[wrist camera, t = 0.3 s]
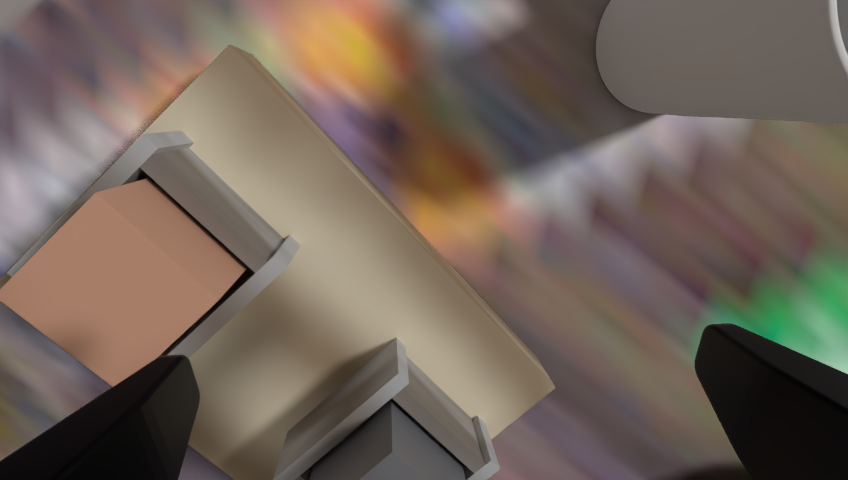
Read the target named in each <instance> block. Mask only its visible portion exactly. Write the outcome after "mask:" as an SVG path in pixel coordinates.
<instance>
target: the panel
mask: <svg viewBox="0 0 848 480" xmlns="http://www.w3.org/2000/svg"><path fill="white" fill-rule="evenodd" d="M147 178H148V179H150V180H151V181H152V182H153V183H154V184H155V185H156V186H157V187H158V188H159V189H161V190H162V191H163V192H164V193H165V194H166V195H167V196H168V197H169V198H170V199H171V200H173V201H174V202H175V203H176V204H177V205H178V206H179V207H180V208H181V209H182V210H184V211H185V212H186V213H187V214H188V215H189V216H190V217H191V218H192V219H193V220H194V221H196V222H197V223H198V224H199V225H200V226H201V227H202V228H203V229H204V230H205V231H207V232H208V233H209V234H210V235H211V236H212V237H213V238H214V239H215V240H216V241H218V242H219V243H220V244H221V245H222V246H223V247H224V248H225V249H226V250H227V251H228V252H230V253H231V254H232V255H233V256H234V257H235V258H236V259H237V260H238V261H239V262H241V263H242V264H243V265H244V266H245V267H246V268H247V269H246V270H245V271H244V272H243V273H242V275H241V276H240V277H239V278H238V279H237V280H236V281H235V282H234V284H233V285H232V286H231V287H230V288H229V289H228V290H227V291H226V293H225V294H224V295H223V296H222V297H221V298H220V299H219V300H218V301H217V302H216V303H215V304H214V305H213V306H212V307H211V308H210V309H209V310H208V311H207V312H206V313H204V314H203V315H202V316H201V317H200V318H199V319H198V320H197V321H196V322H195V323H194V324H193V325H192V326H191V327H189V328H188V329H187V330H186V331H185V332H184V333H183V334H182V335H181V336H180V337H179V338H178V339H177V340H176V341H174V342H173V343H172V344H171V345H170V346H169V347H168V348H167V349H166V350H165V351H164V352H163V353H162V354H161V355H159V356H158V357H160V356H164V355H180V354H182V355H185V356H187V357H188V358H189V360H190V362H191V365H192V369H193V372H194V375H195V378H196V381H197V384H198V388H199V392H200V402H199V407H198V410H197V414H196V417H195V421H194V424H193V428H192V432H191V435H190V439H189V442H188V445H189V446H191V447H192V448H193V449H195V450H196V451H197V452H199V453H200V454H201V455H202V456H204V457H205V458H206V459H208V460H209V461H210V462H212V463H213V464H214V465H216V466H217V467H218V468H220V469H221V470H222V471H223V472H225V473H226V474H227V475H229V476H230V477H231V478H233V479H234V480H310V476H311V471H312V467H313V466H314V465H315V464H316V463H317V462H318V461H320V460H321V459H322V458H323V457H324V456H326V455H327V454H328V453H329V452H330V451H331V450H333V449H334V448H335V447H336V446H337V445H339V444H340V443H341V442H342V441H343V440H345V439H346V438H347V437H348V436H349V435H350V434H352V433H353V432H354V431H355V430H356V429H358V428H359V427H360V426H361V425H362V424H363V423H365V422H366V421H367V420H368V419H369V418H371V417H372V416H373V415H374V414H375V413H376V412H378V411H379V410H380V409H381V408H382V407H384V406H385V405H386V404H387V403H388V402H390V401H391V400H392V401H393V402H394V403H395V404H396V405H397V406H398V407H399V408H400V409H402V410H403V411H404V412H405V413H406V414H407V415H408V416H409V417H410V418H411V419H413V420H414V421H415V422H416V423H417V424H418V425H419V426H420V427H421V428H422V429H423V430H425V431H426V432H427V433H428V434H429V435H430V436H431V437H432V438H433V439H434V440H436V441H437V442H438V443H439V444H440V445H441V446H442V447H443V448H444V449H445V450H446V451H448V452H449V453H450V454H451V455H452V456H453V457H454V458H455V459H456V460H457V461H459V462H460V463H461V464H462V465H463V470H464V475H465V479H466V480H487V479H488V478H490V477H491V476H492V475H493V474H495V473H496V472H497V471H498V470H500V467H499V464H498V461H497V457H496V454H495V451H494V448H493V445H492V442H491V439H492V438H494V437H495V436H496V435H497V434H499V433H500V432H501V431H502V430H504V429H505V428H506V427H507V426H509V425H510V424H511V423H512V422H514V421H515V420H516V419H517V418H519V417H520V416H521V415H522V414H524V413H525V412H526V411H527V410H528V409H530V408H531V407H532V406H533V405H535V404H536V403H537V402H538V401H540V400H541V399H542V398H543V397H545V396H546V395H547V394H548V393H550V392H551V391H552V390H553V389H555V386H554V384H553V383H552V381H551V380H550V378H549V376H548V375H547V373H546V371H545V370H544V368H543V367H542V365H541V363H540V362H539V360H538V359H537V357H536V356H535V355H534V353H533V352H532V351H531V350H530V349H529V348H528V347H527V346H526V345H525V344H524V343H523V342H522V341H521V340H520V339H519V338H518V336H517V335H516V334H515V333H514V332H513V331H512V330H511V329H510V328H509V327H508V326H507V325H506V324H505V323H504V322H503V321H502V319H501V318H500V317H499V316H498V315H497V314H496V313H495V312H494V311H493V310H492V309H491V308H490V307H489V306H488V305H487V304H486V302H485V301H484V300H483V299H482V298H481V297H480V296H479V295H478V294H477V293H476V292H475V291H474V290H473V289H472V288H471V287H470V285H469V284H468V283H467V282H466V281H465V280H464V279H463V278H462V277H461V276H460V275H459V274H458V273H457V272H456V271H455V270H454V268H453V267H452V266H451V265H450V264H449V263H448V262H447V261H446V260H445V259H444V258H443V257H442V256H441V255H440V254H439V253H438V251H437V250H436V249H435V248H434V247H433V246H432V245H431V244H430V243H429V242H428V241H427V240H426V239H425V238H424V237H423V235H422V234H421V233H420V232H419V231H418V230H417V229H416V228H415V227H414V226H413V225H412V224H411V223H410V222H409V221H408V220H407V218H406V217H405V216H404V215H403V214H402V213H401V212H400V211H399V210H398V209H397V208H396V207H395V206H394V205H393V204H392V203H391V201H390V200H389V199H388V198H387V197H386V196H385V195H384V194H383V193H382V192H381V191H380V190H379V189H378V188H377V187H376V186H375V184H374V183H373V182H372V181H371V180H370V179H369V178H368V177H367V176H366V175H365V174H364V173H363V172H362V171H361V170H360V169H359V167H358V166H357V165H356V164H355V163H354V162H353V161H352V160H351V159H350V158H349V157H348V156H347V155H346V154H345V153H344V152H343V150H342V149H341V148H340V147H339V146H338V145H337V144H336V143H335V142H334V141H333V140H332V139H331V138H330V137H329V136H328V135H327V133H326V132H325V131H324V130H323V129H322V128H321V127H320V126H319V125H318V124H317V123H316V122H315V121H314V120H313V119H312V118H311V116H310V115H309V114H308V113H307V112H306V111H305V110H304V109H303V108H302V107H301V106H300V105H299V104H298V103H297V102H296V101H295V99H294V98H293V97H292V96H291V95H290V94H289V93H288V92H287V91H286V90H285V89H284V88H283V87H282V86H281V85H280V84H279V82H278V81H277V80H276V79H275V78H274V77H273V76H272V75H271V74H270V73H269V72H268V71H267V70H266V69H265V68H264V67H263V65H262V64H261V63H260V62H259V61H258V60H257V59H256V58H255V57H254V56H253V55H252V54H250V53H248V52H246V51H244V50H241V49H239V48H237V47H234V46H232V45H229V46H228V47H227V48H226V49H225V50H224V51H223V52H222V53H221V54H220V55H219V56H218V57H217V58H216V59H215V60H214V61H213V62H212V63H211V64H210V65H209V66H208V67H207V68H206V69H205V70H204V71H203V72H202V73H201V74H200V75H199V76H198V77H197V78H196V79H195V80H194V81H193V82H192V83H191V84H190V85H189V86H188V87H187V88H186V89H185V90H184V91H183V93H182V94H181V95H180V96H179V97H178V98H177V99H176V100H175V101H174V102H173V103H172V104H171V105H170V106H169V107H168V108H167V109H166V110H165V111H164V112H163V113H162V114H161V115H160V116H159V117H158V118H157V119H156V120H155V121H154V122H153V123H152V124H151V125H150V126H149V127H148V128H147V129H146V130H145V131H144V132H143V133H142V134H141V135H140V136H139V137H138V138H137V139H136V140H135V141H134V142H133V143H132V145H131V146H130V147H129V148H128V149H127V150H126V151H125V152H124V153H123V154H122V155H121V156H120V157H119V158H118V159H117V160H116V161H115V162H114V163H113V164H112V165H111V166H110V167H109V168H108V169H107V170H106V171H105V172H104V173H103V174H102V175H101V176H100V177H99V178H98V179H97V180H96V181H95V182H94V183H93V184H92V185H91V186H90V187H89V188H88V189H87V190H86V191H85V192H84V193H83V194H82V195H81V196H80V198H79V199H78V200H77V201H76V202H75V203H74V204H73V205H72V206H71V207H70V208H69V209H68V210H67V211H66V212H65V213H64V214H63V215H62V216H61V217H60V218H59V219H58V220H57V221H56V222H55V223H54V224H53V225H52V226H51V227H50V228H49V229H48V230H47V231H46V232H45V233H44V234H43V235H42V236H41V237H40V238H39V239H38V240H37V241H36V242H35V243H34V244H33V245H32V246H31V247H30V248H29V249H28V251H27V252H26V253H25V254H24V255H23V256H22V257H21V258H20V259H19V260H18V261H17V262H16V263H15V264H14V265H13V266H12V267H11V268H10V269H9V270H8V271H7V272H6V273H5V274H4V275H3V276H2V277H1V278H0V289H1V288H2V287H3V286H4V285H5V284H6V283H7V282H8V281H9V280H10V279H11V278H12V277H13V276H14V275H15V274H16V273H17V272H18V271H19V270H20V269H21V268H22V267H23V266H24V265H25V264H26V263H27V262H28V261H29V260H30V259H31V258H32V257H33V256H34V255H35V253H36V252H37V251H38V250H39V249H40V248H41V247H42V246H43V245H44V244H45V243H46V242H47V241H48V240H49V239H50V238H51V237H52V236H53V235H54V234H55V233H56V232H57V231H58V230H59V229H60V228H61V227H62V226H63V225H64V224H65V223H66V222H67V221H68V220H69V219H70V218H71V217H72V216H73V215H74V214H75V213H76V212H77V211H78V210H79V209H80V208H81V207H82V206H83V205H84V204H85V203H86V202H87V201H88V200H89V199H90V198H91V197H92V196H93V195H94V194H95V193H96V192H100V191H103V190H107V189H110V188H114V187H118V186H121V185H125V184H129V183H132V182H136V181H139V180H143V179H147ZM0 302H1V301H0ZM2 303H3V302H2ZM3 304H4V303H3ZM4 305H5V304H4ZM6 306H7V305H6ZM7 307H8V306H7ZM8 308H9V307H8ZM9 309H11V308H9ZM11 310H12V309H11ZM12 311H13V310H12ZM13 312H15V311H13ZM15 313H16V312H15ZM16 314H17V313H16ZM17 315H18V314H17ZM19 316H20V315H19ZM20 317H21V316H20ZM21 318H22V317H21ZM23 319H24V318H23ZM24 320H25V319H24ZM25 321H26V320H25ZM27 322H28V321H27ZM28 323H29V322H28ZM29 324H30V323H29ZM30 325H32V324H30ZM32 326H33V325H32ZM33 327H34V326H33ZM34 328H36V327H34ZM36 329H37V328H36ZM37 330H38V329H37ZM38 331H39V330H38ZM40 332H41V331H40ZM41 333H42V332H41ZM42 334H43V333H42ZM44 335H45V334H44ZM45 336H46V335H45ZM46 337H47V336H46ZM48 338H49V337H48ZM49 339H50V338H49ZM50 340H51V339H50ZM51 341H53V340H51ZM53 342H54V341H53ZM54 343H55V342H54ZM55 344H57V343H55ZM57 345H58V344H57ZM58 346H59V345H58ZM59 347H60V346H59ZM61 348H62V347H61ZM62 349H63V348H62ZM63 350H64V349H63ZM65 351H66V350H65ZM66 352H67V351H66ZM67 353H68V352H67ZM69 354H70V353H69ZM70 355H71V354H70ZM71 356H72V355H71ZM72 357H74V356H72ZM158 357H157V358H158ZM74 358H75V357H74ZM75 359H76V358H75ZM76 360H78V359H76ZM78 361H79V360H78ZM79 362H80V361H79ZM80 363H81V362H80ZM82 364H83V363H82ZM83 365H84V364H83ZM84 366H85V365H84ZM86 367H87V366H86ZM87 368H88V367H87ZM88 369H89V368H88ZM90 370H91V369H90ZM91 371H92V370H91ZM92 372H93V371H92ZM93 373H95V372H93ZM95 374H96V373H95ZM96 375H97V374H96ZM97 376H98V375H97ZM99 377H100V376H99ZM100 378H101V377H100ZM101 379H102V378H101ZM103 380H104V379H103ZM104 381H105V380H104ZM105 382H106V381H105ZM107 383H108V382H107ZM108 384H109V383H108ZM109 385H110V384H109ZM111 386H112V385H111ZM112 387H113V386H112Z"/></svg>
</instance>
